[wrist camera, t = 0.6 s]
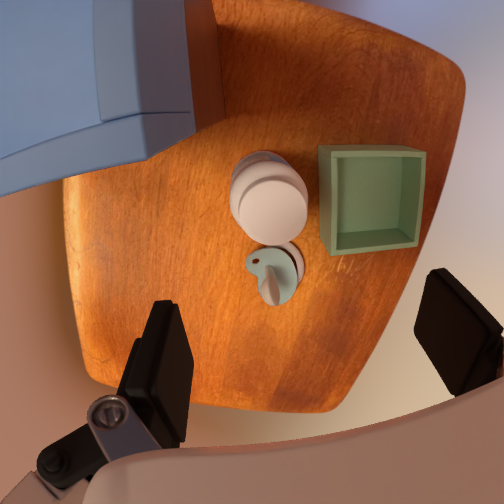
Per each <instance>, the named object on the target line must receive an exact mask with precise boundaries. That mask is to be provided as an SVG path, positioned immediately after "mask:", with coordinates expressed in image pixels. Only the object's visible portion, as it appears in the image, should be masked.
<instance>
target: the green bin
mask: <svg viewBox="0 0 504 504" xmlns="http://www.w3.org/2000/svg"><path fill="white" fill-rule="evenodd" d="M318 170H319V238H320V239H321V241H322V242H323V244H324V246H325V247H326V249H327V251H328V252H329V254H330V256H335V255H345V254H354V253H363V252H372V251H381V250H390V249H399V248H408V247H416V246H418V241H419V233H420V226H421V218H422V209H423V199H424V187H425V172H426V152H425V151H421V150H418V149H415V148H412V147H408V146H405V145H368V144H351V145H318Z"/></svg>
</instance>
